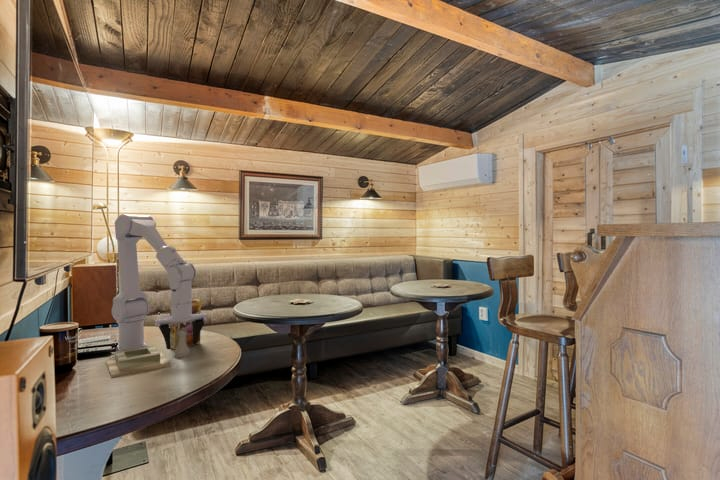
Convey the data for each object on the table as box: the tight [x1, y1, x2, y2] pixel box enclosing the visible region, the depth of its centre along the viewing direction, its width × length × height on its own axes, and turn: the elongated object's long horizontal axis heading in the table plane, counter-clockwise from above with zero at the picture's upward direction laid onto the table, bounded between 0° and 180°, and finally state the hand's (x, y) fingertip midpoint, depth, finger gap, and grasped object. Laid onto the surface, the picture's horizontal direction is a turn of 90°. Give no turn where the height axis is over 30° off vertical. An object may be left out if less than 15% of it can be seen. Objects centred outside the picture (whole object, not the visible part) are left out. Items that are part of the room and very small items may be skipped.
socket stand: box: [105, 344, 170, 378], centre depth 109 cm, size 14×14×3 cm
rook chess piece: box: [173, 329, 191, 359], centre depth 117 cm, size 4×4×8 cm
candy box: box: [169, 298, 202, 351], centre depth 126 cm, size 9×4×15 cm, turn 142°
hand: (181, 346), depth 117 cm, fingers open, 7 cm apart
